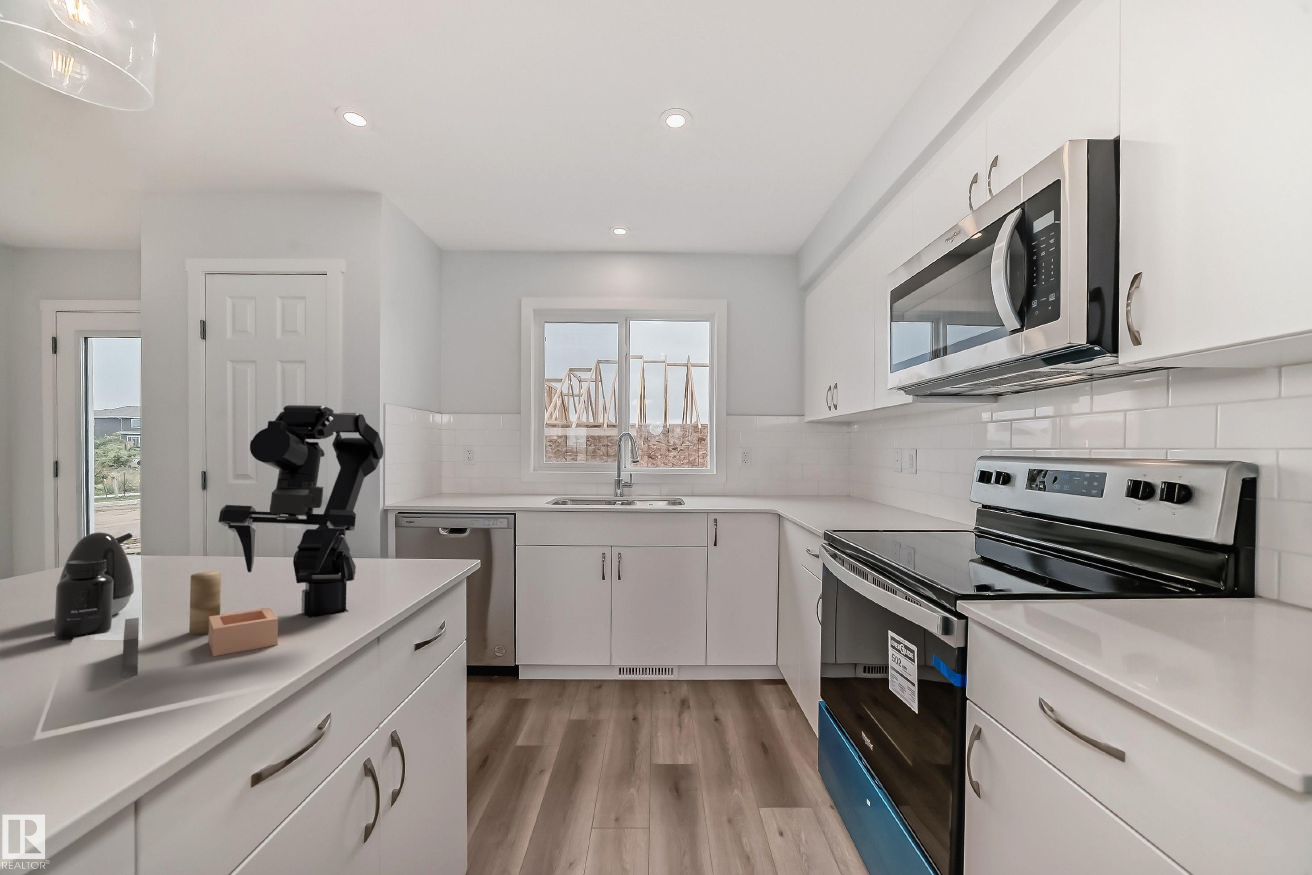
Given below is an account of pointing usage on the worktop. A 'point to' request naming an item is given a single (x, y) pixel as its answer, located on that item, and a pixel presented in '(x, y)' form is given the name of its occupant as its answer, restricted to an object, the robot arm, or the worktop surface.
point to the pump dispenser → (107, 563)
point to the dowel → (204, 600)
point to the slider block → (242, 631)
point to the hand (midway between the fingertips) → (283, 572)
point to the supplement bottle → (84, 600)
